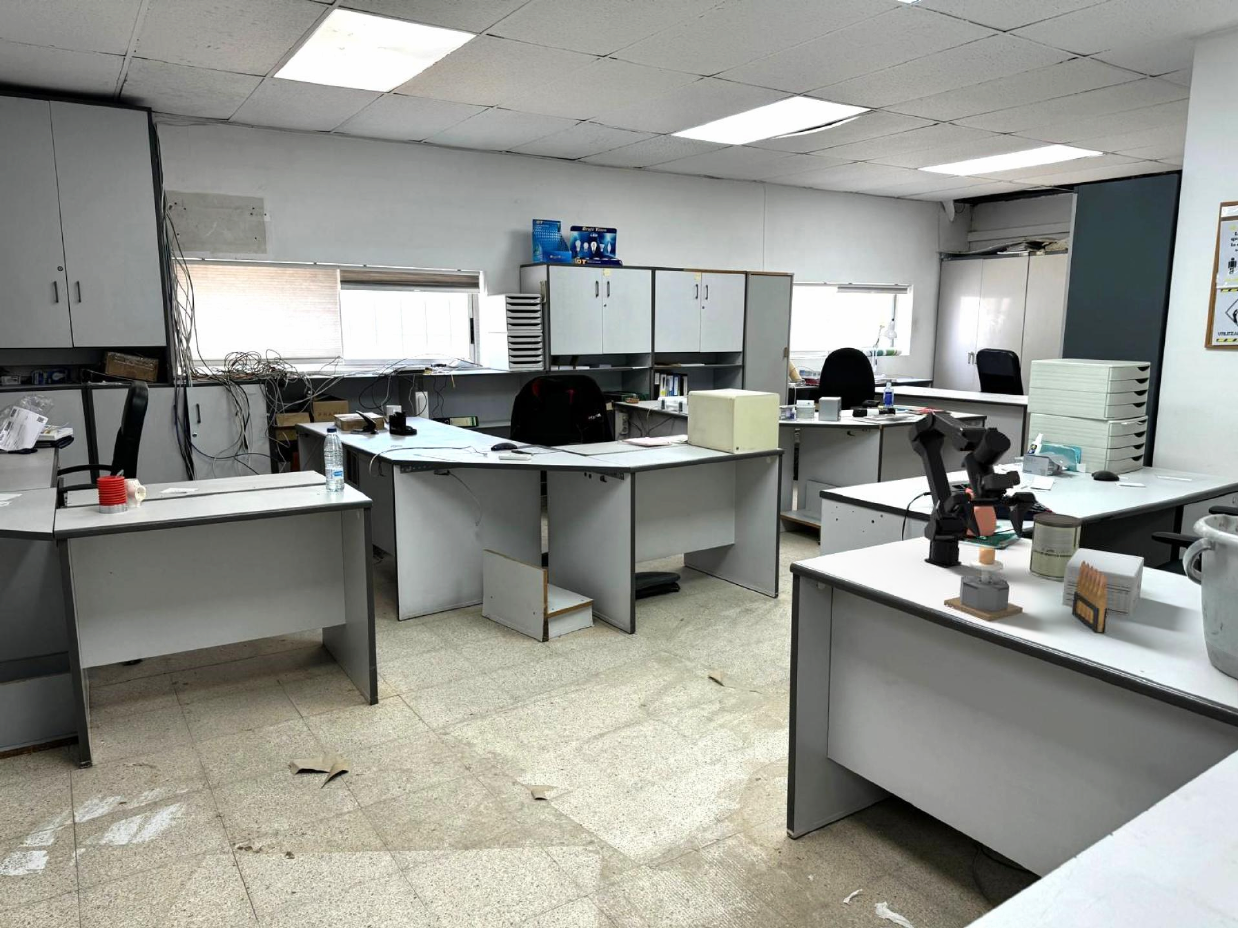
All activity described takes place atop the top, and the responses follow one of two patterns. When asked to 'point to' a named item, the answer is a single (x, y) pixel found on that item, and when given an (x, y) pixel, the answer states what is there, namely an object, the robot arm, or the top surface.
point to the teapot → (984, 519)
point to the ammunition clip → (1091, 598)
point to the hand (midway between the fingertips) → (999, 537)
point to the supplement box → (1108, 578)
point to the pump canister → (984, 598)
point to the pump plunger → (986, 563)
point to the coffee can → (1053, 544)
